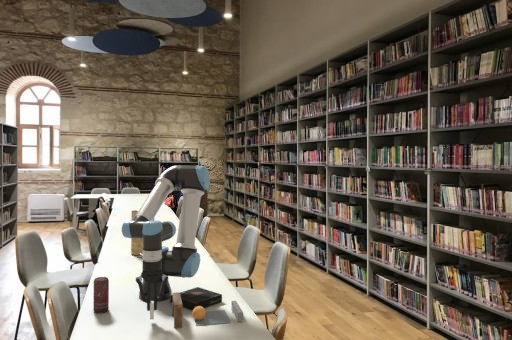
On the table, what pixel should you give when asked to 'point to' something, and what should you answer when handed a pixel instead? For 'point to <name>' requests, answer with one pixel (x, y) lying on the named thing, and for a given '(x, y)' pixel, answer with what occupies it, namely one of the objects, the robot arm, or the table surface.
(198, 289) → the portable cd player
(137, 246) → the parchment
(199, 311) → the ball
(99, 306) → the can
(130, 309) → the table surface
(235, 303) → the stopper
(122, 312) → the table surface
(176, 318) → the bridge
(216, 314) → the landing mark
